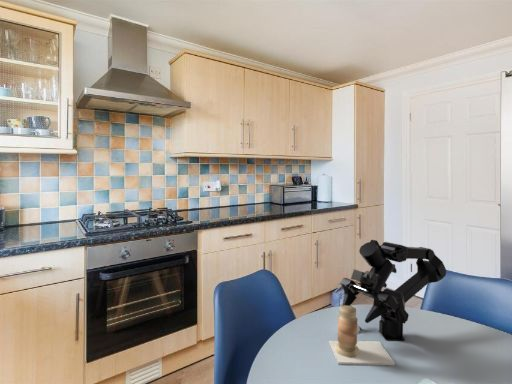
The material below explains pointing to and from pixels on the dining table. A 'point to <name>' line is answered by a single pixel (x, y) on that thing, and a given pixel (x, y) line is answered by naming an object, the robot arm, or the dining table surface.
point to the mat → (365, 354)
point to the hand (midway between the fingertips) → (353, 316)
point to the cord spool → (347, 332)
